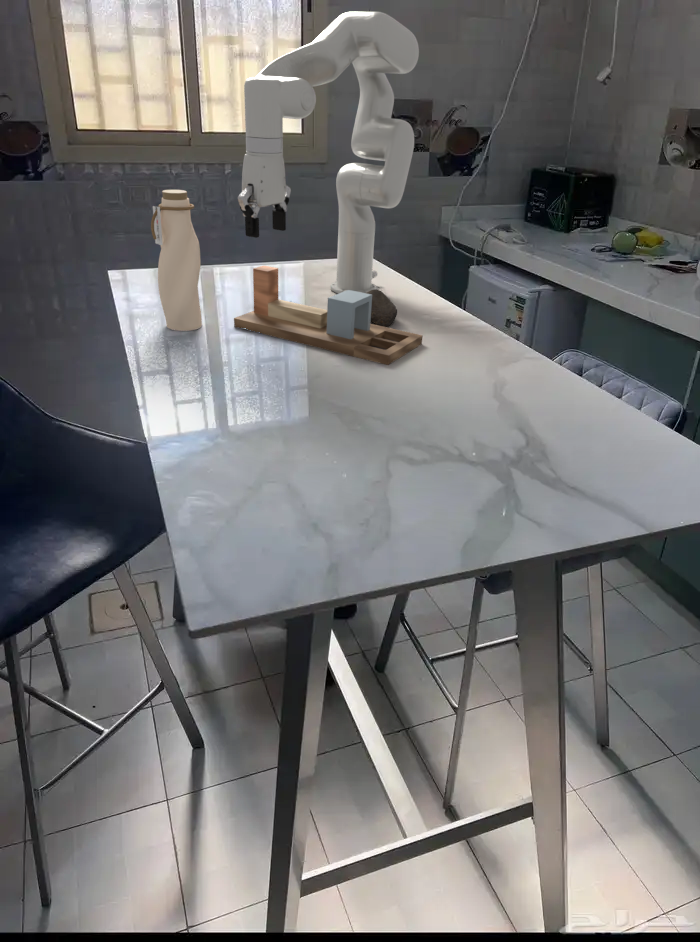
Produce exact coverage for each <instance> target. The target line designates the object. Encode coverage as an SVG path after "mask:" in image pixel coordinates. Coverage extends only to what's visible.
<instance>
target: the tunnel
mask: <svg viewBox="0 0 700 942" xmlns="http://www.w3.org/2000/svg"><path fill="white" fill-rule="evenodd" d="M371 306H372V295H371V294H366V293H361V292H357V291H352V290H346V291H344V292H341V293H336V294H334V295H332V296H329V297H327V309H326V310H327V334H330V335H334V336H339V337H343V338H347V339H353V338H354V328H357V329H361V330H365V331H368V330H370V324H371Z"/></svg>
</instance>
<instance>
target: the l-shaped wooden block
mask: <svg viewBox="0 0 700 942" xmlns="http://www.w3.org/2000/svg"><path fill="white" fill-rule="evenodd" d="M252 279H253V281H252V283H253V286H252V287H253V311H254V313H257V314H261V315H265V316H270V317H274V318H278V319H282V320H287V321H291V322H295V323H299V324H304V325H308V326H312V327H317V328H322V327H324V326H327V309H324V308H320V307H315V306H310V305H306V304H303V303H302V304H301V303H297V302H292V301H288V300H283V299H280V298H279V267H274V266H269V265H268V266H267V265H261V266H258V267H253V268H252Z"/></svg>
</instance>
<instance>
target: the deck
mask: <svg viewBox="0 0 700 942" xmlns="http://www.w3.org/2000/svg"><path fill="white" fill-rule="evenodd" d="M233 327H234V328H238V329H241V328H246V329H248V330H247V331H249V330H251V331H250V332H253V331H255V332H254V333H257V332H260V333H259V334H261V333H262V335H266V336H269V337H270V336H271V337H272V338H273V337H274V338H277V339H282V340H286V341H289V342H294V343H299V344H302V345H306V346H310V347H315V348H318V349H322V350H326V351H330V352H334V353H337V354H342V355H346V356H350V357H354V358H357V359H358V358H359V359H363V360H367V361H370V362H375V363H378V364H383V365H386V366H389V365H391V364H392V363H394V362H395V361H397V360H399V359H400V358H402V357H403V356H405V355H406V354H408V353H410V352H411V351H413V350H414V349H416V348H418V347H420V346H421V345H422V344H423V335H422V334H418V333H413V332H410V331H405V330H400V329H395V328H392V327H383V326H378V325H376V324H375V323H370V330H368V331H365V330H361V329H357V328H354V338H353V339H347V338H343V337H339V336H334V335H330V334H327V326H324V327H322V328H317V327H312V326H308V325H304V324H299V323H295V322H291V321H287V320H282V319H278V318H274V317H270V316H265V315H261V314H257V313H254V310H253V311H250V312H247V313H244V314H241V315H239V316H236V317H234V318H233Z"/></svg>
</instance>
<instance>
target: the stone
mask: <svg viewBox="0 0 700 942" xmlns="http://www.w3.org/2000/svg"><path fill="white" fill-rule="evenodd" d="M366 294H371V295H372V306H371V322H370V324H374V325H378V326H383V327H387V328H390V327H391V326H392V325H393V324H394V323H395V320H396V319H397V315H398V309H397V308H396V306H395V304H394V303H393V301H392V300H391V299H390V298H389V297H388V296H387V295H386V294H385V293H384V292H383V291H382V290H380V289H377V290H376V289H374V290H371V291H368V292H367V293H366Z"/></svg>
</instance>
